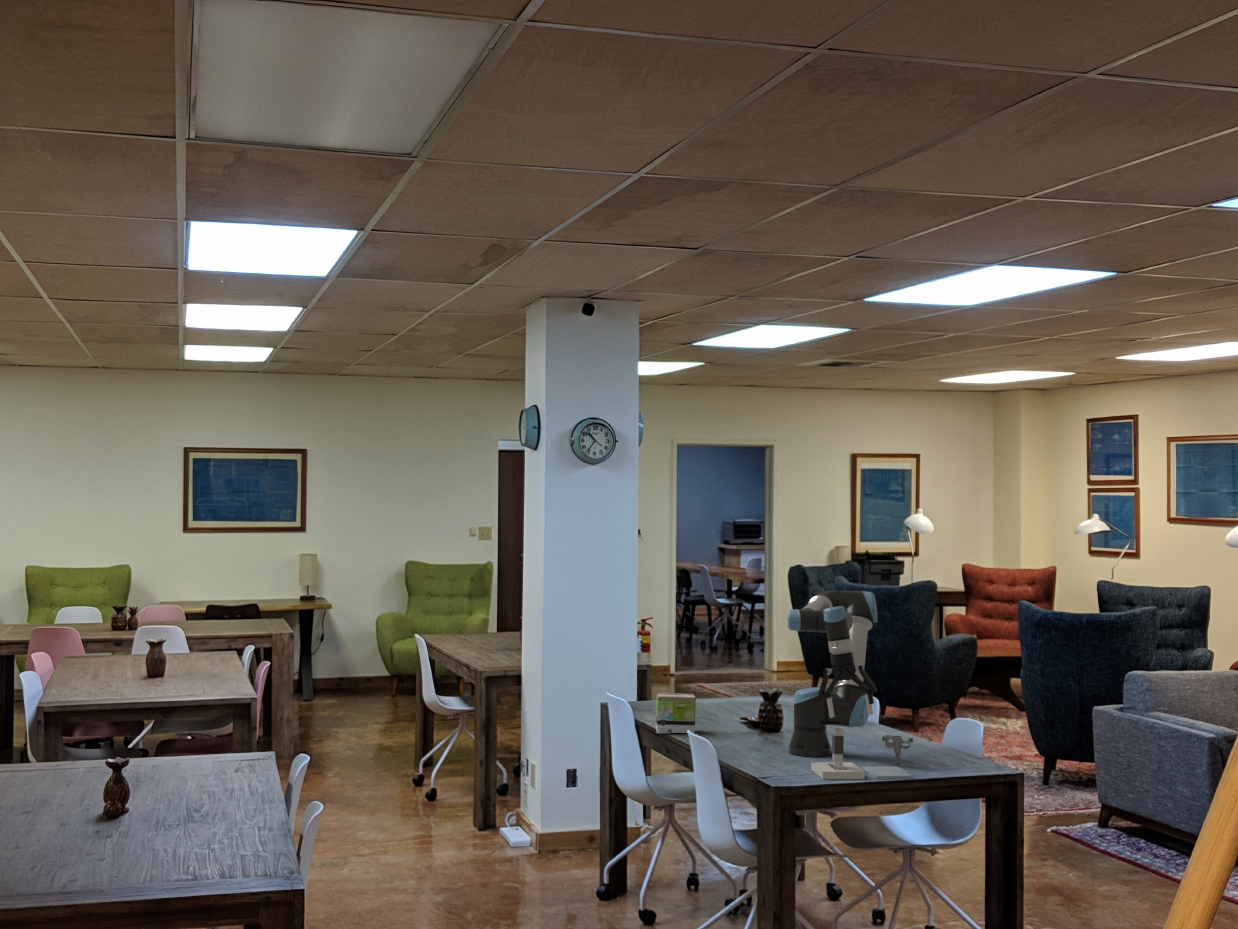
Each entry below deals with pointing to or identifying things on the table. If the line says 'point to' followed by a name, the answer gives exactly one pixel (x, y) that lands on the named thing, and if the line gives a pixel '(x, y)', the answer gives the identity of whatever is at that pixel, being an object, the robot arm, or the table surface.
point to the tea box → (675, 712)
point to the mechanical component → (897, 745)
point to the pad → (887, 773)
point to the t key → (837, 749)
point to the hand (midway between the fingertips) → (851, 716)
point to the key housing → (838, 771)
